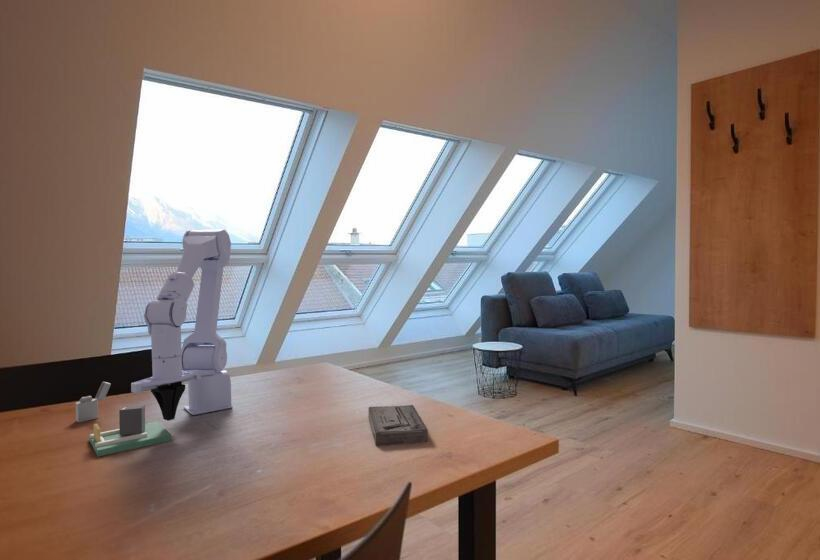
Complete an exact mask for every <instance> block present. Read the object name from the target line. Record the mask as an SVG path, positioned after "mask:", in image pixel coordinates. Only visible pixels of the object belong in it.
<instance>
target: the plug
mask: <svg viewBox="0 0 820 560" xmlns="http://www.w3.org/2000/svg"><path fill="white" fill-rule="evenodd" d="M145 411H146V405H137V406H129V407H127V406H126V407H122V408H121V409H119V412H118V413H119V415H118V416H119V429H120V436H122V435H131V434H140V433H143V432H144V431H145V424H146V412H145Z"/></svg>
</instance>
